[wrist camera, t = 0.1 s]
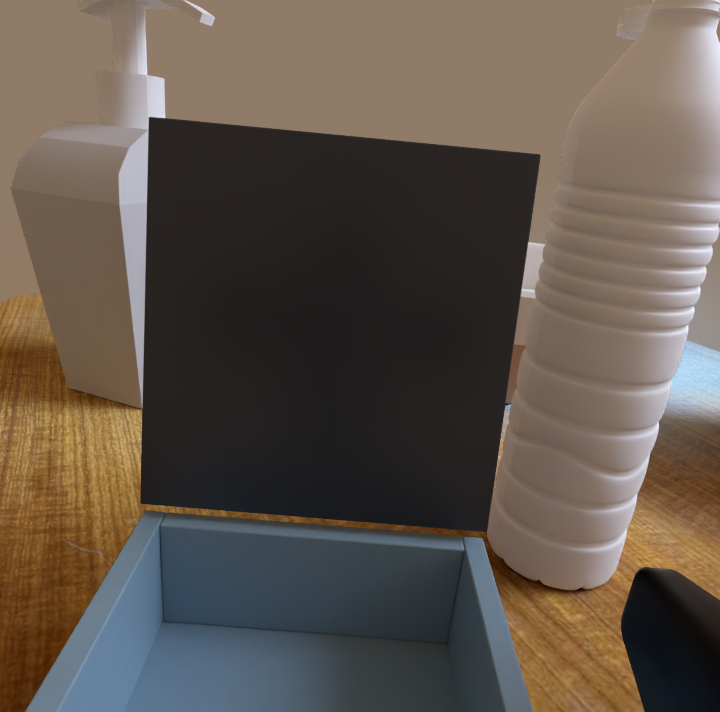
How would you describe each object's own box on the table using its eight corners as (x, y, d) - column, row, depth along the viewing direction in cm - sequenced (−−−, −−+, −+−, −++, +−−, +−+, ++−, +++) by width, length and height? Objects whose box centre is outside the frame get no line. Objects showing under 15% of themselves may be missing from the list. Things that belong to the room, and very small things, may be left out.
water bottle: (632, 605, 26) (843, -36, 17) (488, 580, 27) (622, -49, 18) (589, 497, 34) (718, 22, 26) (479, 480, 35) (568, 11, 26)
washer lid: (541, 154, 18) (506, 172, 23) (147, 116, 18) (188, 141, 23) (487, 532, 21) (465, 483, 25) (140, 504, 21) (177, 459, 25)
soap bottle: (153, 430, 37) (134, -39, 28) (35, 394, 40) (-17, -38, 31) (252, 369, 48) (262, 18, 39) (153, 345, 51) (141, 14, 42)
